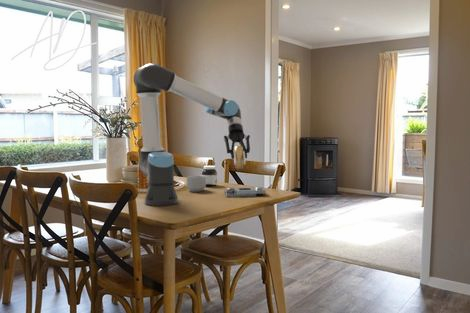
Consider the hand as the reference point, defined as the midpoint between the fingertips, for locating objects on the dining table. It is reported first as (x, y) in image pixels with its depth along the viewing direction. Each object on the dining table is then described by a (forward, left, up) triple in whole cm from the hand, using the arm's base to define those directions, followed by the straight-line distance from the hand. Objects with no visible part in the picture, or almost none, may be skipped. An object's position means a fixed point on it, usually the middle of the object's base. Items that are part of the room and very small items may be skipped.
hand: (240, 163), depth 199 cm
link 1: (+2, +12, -18) cm, 21 cm away
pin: (0, +4, -3) cm, 5 cm away
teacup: (-20, +29, -18) cm, 39 cm away
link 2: (+7, +12, -18) cm, 22 cm away
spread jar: (-13, +45, -18) cm, 50 cm away
